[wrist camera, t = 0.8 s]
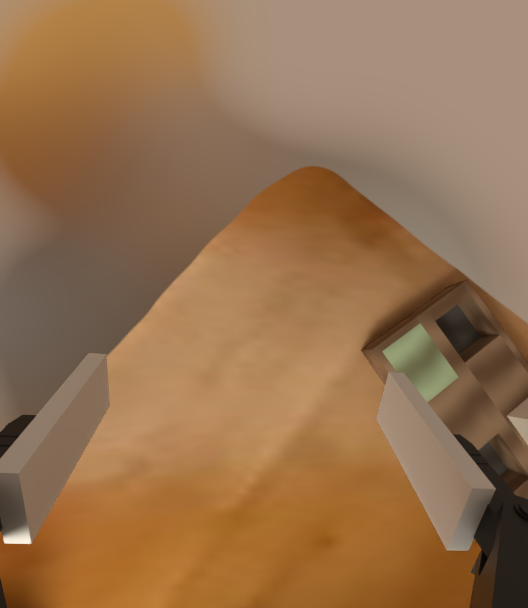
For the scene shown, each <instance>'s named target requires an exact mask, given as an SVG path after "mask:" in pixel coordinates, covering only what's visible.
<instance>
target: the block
mask: <svg viewBox="0 0 528 608" xmlns="http://www.w3.org/2000/svg"><path fill="white" fill-rule="evenodd" d="M507 417H508V418H509V419H510V421H511V422H512V424H513V425H514V426H515V428H516V429H517V431H518V432H519V433H520V435H521V436H522V438H523V439H524V440H525V442H526V443H527V445H528V398H527V399H526V400H524V401H523V402H522V403H521V404H520V405H519V406H517V407H516V408H515V409H514V410H513V411H512V412H510V413H509V414H508V415H507Z"/></svg>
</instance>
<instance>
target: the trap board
mask: <svg viewBox="0 0 528 608" xmlns="http://www.w3.org/2000/svg"><path fill="white" fill-rule="evenodd" d="M361 351H362V352H363V354H364V355H365V357H366V358H367V359H368V361H369V362H370V364H371V365H372V367H373V368H374V370H375V371H376V372H377V374H378V375H379V377H380V378H381V380H382V381H383V383H384V384H386V380H387V376H388V372H397V373H404V374H405V375H406V376H407V378H408V379H409V380H410V381H411V383H412V384H413V385H414V386H415V388H416V389H417V390H418V391H419V393H420V394H421V395H422V396H423V398H424V399H425V400H426V401H427V403H428V404H429V405H430V406H431V408H432V409H433V410H434V412H435V413H436V414H437V415H438V417H439V418H440V419H441V420H442V422H443V423H444V424H445V425H446V427H447V428H448V429H449V430H450V432H451V433H452V434H460V435H461V436H463V437H464V438H465V439H467V440H468V441H469V442H471V443H472V444H473V445H474V446H475V447H476V449H477V450H478V451H479V452H480V453H481V456H482V457H484V458H485V459H486V461H487V462H488V463H489V465H491V467H492V468H493V469H494V470H495V471H496V472H497V474H498V475H499V476H500V477H501V478H502V480H503V481H504V482H505V483H506V484H507V486H508V487H509V488H510V489H511V490H512V492H513V493H514V494H515V495H516V496H520V497H523V498H526V499H528V445H527V443H526V442H525V440H524V439H523V438H522V436H521V435H520V433H519V432H518V431H517V429H516V428H515V426H514V425H513V424H512V422H511V421H510V419H509V418H508V417H507V415H508V414H509V413H510V412H512V411H513V410H514V409H515V408H516V407H517V406H519V405H520V404H521V403H522V402H523V401H524V400H526V399H527V398H528V362H527V361H526V359H525V358H524V357H523V355H522V354H521V352H520V351H519V350H518V348H517V347H516V346H515V344H514V343H513V342H512V340H511V339H510V337H509V336H508V335H507V333H506V332H505V331H504V329H503V328H502V327H501V325H500V324H499V322H498V321H497V320H496V318H495V317H494V316H493V314H492V313H491V312H490V310H489V309H488V307H487V306H486V305H485V303H484V302H483V301H482V299H481V298H480V297H479V295H478V294H477V292H476V291H475V290H474V288H473V287H472V286H471V284H470V283H469V282H468V280H465V281H462V282H459V283H456V284H453V285H450V286H449V287H447V288H446V289H445V290H443V291H442V292H441V293H439V294H438V295H436V296H435V297H434V298H432V299H431V300H430V301H428V302H427V303H425V304H424V305H423V306H421V307H420V308H419V309H417V310H416V311H414V312H413V313H412V314H410V315H409V316H408V317H406V318H405V319H404V320H402V321H401V322H399V323H398V324H397V325H395V326H394V327H393V328H391V329H390V330H388V331H387V332H386V333H384V334H383V335H382V336H380V337H379V338H377V339H376V340H375V341H373V342H372V343H371V344H369V345H368V346H367V347H365V348H364V349H362V350H361Z"/></svg>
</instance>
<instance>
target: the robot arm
mask: <svg viewBox="0 0 528 608" xmlns="http://www.w3.org/2000/svg"><path fill="white" fill-rule="evenodd" d="M109 406H110V404H109V387H108V370H107V354H94V353H89V354H88V355H87V356H86V357H85V358H84V360H83V361H82V362H81V363H80V364H79V366H78V367H77V368H76V369H75V370H74V371H73V373H72V374H71V375H70V376H69V377H68V379H67V380H66V381H65V382H64V383H63V385H62V386H61V387H60V388H59V389H58V390H57V392H56V393H55V394H54V395H53V397H52V398H51V399H50V400H49V401H48V402H47V404H46V405H45V406H44V407H43V408H42V410H41V411H40V412H39V413H38V414H37V415H22V416H20V417H19V418H17V419H16V420H14V421H12V422H11V423H9V424H8V425H7V426H6V427H5V428H4V429H3V430H2V431H1V432H0V531H1V530H2V535H3V540H4V543H11V544H32V542H33V540H34V538H35V537H36V535H37V533H38V531H39V530H40V528H41V526H42V524H43V522H44V521H45V519H46V517H47V515H48V514H49V512H50V510H51V508H52V507H53V505H54V503H55V501H56V499H57V498H58V496H59V494H60V492H61V491H62V489H63V487H64V485H65V484H66V482H67V480H68V478H69V476H70V475H71V473H72V471H73V469H74V468H75V466H76V464H77V462H78V461H79V459H80V457H81V455H82V453H83V452H84V450H85V448H86V446H87V445H88V443H89V441H90V439H91V437H92V436H93V434H94V432H95V430H96V429H97V427H98V425H99V423H100V422H101V420H102V418H103V416H104V414H105V413H106V411H107V409H108V407H109ZM376 419H377V421H378V423H379V425H380V427H381V429H382V430H383V432H384V434H385V436H386V438H387V440H388V442H389V444H390V445H391V447H392V449H393V451H394V453H395V455H396V457H397V458H398V460H399V462H400V464H401V466H402V468H403V470H404V472H405V473H406V475H407V477H408V479H409V481H410V483H411V485H412V486H413V488H414V490H415V492H416V494H417V496H418V498H419V499H420V501H421V503H422V505H423V507H424V509H425V511H426V513H427V514H428V516H429V518H430V520H431V522H432V524H433V526H434V527H435V529H436V531H437V533H438V535H439V537H440V539H441V540H442V542H443V544H444V546H445V548H446V550H451V551H469V549H470V546H471V544H472V542H473V540H474V538H475V539H476V541H477V542H478V544H479V546H480V547H481V549H482V550H481V552H480V554H479V556H478V558H477V560H476V563H475V565H474V567H473V569H472V571H471V573H473V574H475V579H474V585H473V591H472V597H471V602H470V608H528V499H526V498H523V497H520V496H516V495H515V494H514V493H513V492H512V490H511V489H510V488H509V487H508V486H507V484H506V483H505V482H504V481H503V480H502V478H501V477H500V476H499V475H498V474H497V472H496V471H495V470H494V469H493V468H492V467H491V465H489V463H488V462H487V461H486V459H485V458H484V457H482V456H481V453H480V452H479V451H478V450H477V449H476V447H475V446H474V445H473V444H472V443H471V442H469V441H468V440H467V439H465V438H464V437H463V436H461V435H460V434H452V433H451V432H450V430H449V429H448V428H447V427H446V425H445V424H444V423H443V422H442V420H441V419H440V418H439V417H438V415H437V414H436V413H435V412H434V410H433V409H432V408H431V406H430V405H429V404H428V403H427V401H426V400H425V399H424V398H423V396H422V395H421V394H420V393H419V391H418V390H417V389H416V388H415V386H414V385H413V384H412V383H411V381H410V380H409V379H408V378H407V376H406V375H405V374H404V373H397V372H388V376H387V380H386V384H385V388H384V391H383V395H382V399H381V403H380V407H379V410H378V414H377V418H376ZM0 608H7V605H6V601H5V597H4V593H3V588H2V584H1V580H0Z"/></svg>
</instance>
